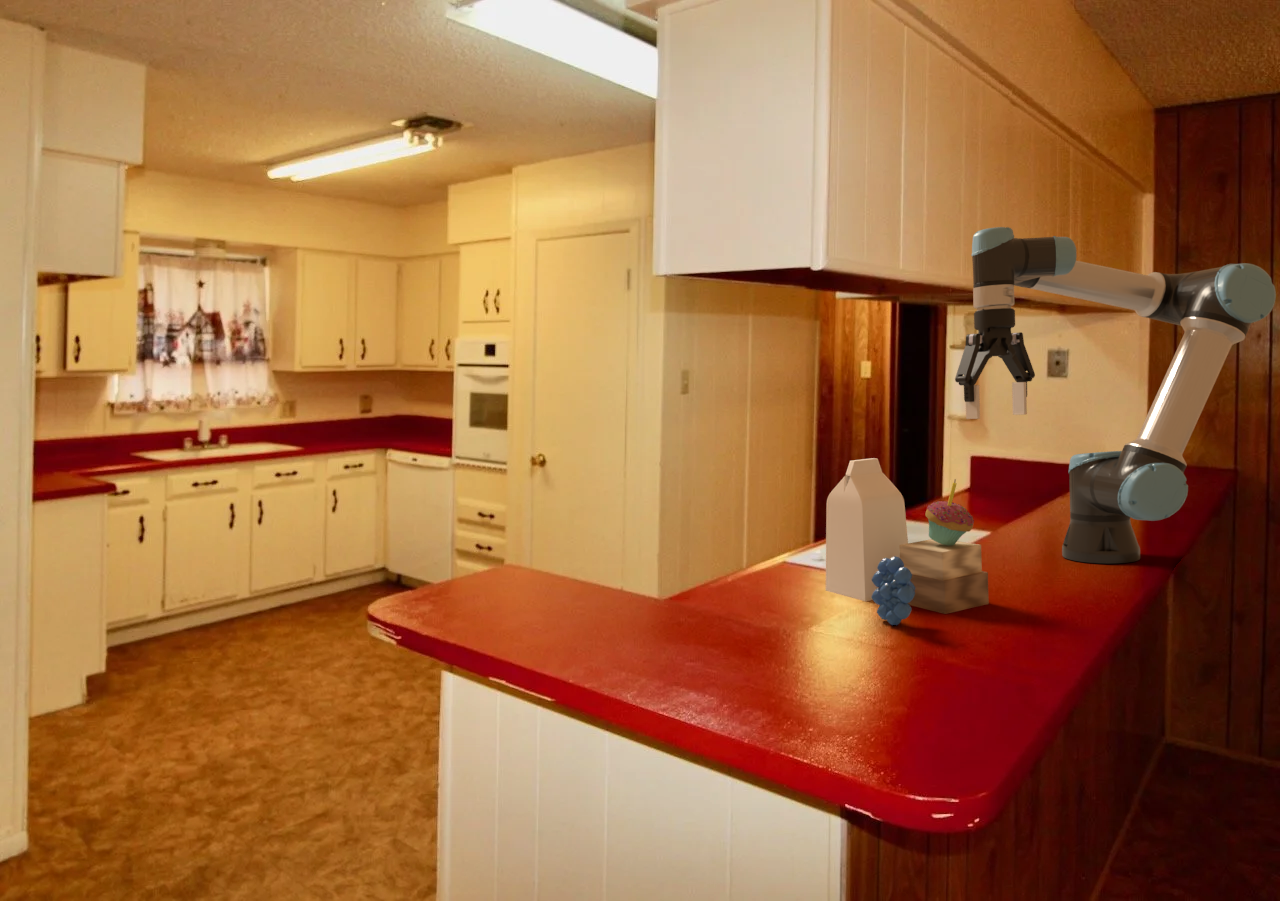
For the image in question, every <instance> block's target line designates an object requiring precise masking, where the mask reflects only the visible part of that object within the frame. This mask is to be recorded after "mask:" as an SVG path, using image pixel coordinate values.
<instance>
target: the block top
mask: <svg viewBox="0 0 1280 901" xmlns="http://www.w3.org/2000/svg"><path fill="white" fill-rule="evenodd" d="M899 546H900V559H901V560H902V561H903V563H904V567H906V568H908V569H909V570H910V572H911V573H912V574H914V575H919V576H923V577H928V578H933V579H938V580H948V579H952V578H957V577H962V576H966V575H971V574H976V573H980V572H982V571H983V567H982V565H983V564H982V562H983V561H982V560H983V559H982V544H978V543H977V544H976V543H971V542H966V541H960V540H958V541H957V542H956V543H955V545H951V546H950V545H944V544H941V543H938V542H936V541H934V540H932V539H931V538H930V539H927V540H926V539H925V540H920V541H919V540H918V541H915V542H908V544H903V545H899Z"/></svg>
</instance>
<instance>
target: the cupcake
mask: <svg viewBox="0 0 1280 901" xmlns="http://www.w3.org/2000/svg"><path fill="white" fill-rule="evenodd" d="M956 480H957V478H954V481H953V482H952V484H951V488H950V489H951V490H950V493H949V497H948V501H944V500H942V501H941V500H940V501H939V500H938V501H933V502H932V503H930V504H928V505H927V507H926V509H925V510H926V511H925V518H927V519H928V537H929V538H930V539H932V540H934V541H936V542H938V543H941V544H944V545H950V546H951V545H955V543H956V542H957V541H959V539H960V538H962V536H964V535H965V534H966V533H967V532H971V531H972V529H973V528H974V523H975V520H974V517H973V515H971V513H970V512H969V511H968V510H967V508H966V507H964V506H962V505H961V504H957V503H956V502H953V499H954V496H955V491H956V489H957V488H956V487H957V483H956Z"/></svg>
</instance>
